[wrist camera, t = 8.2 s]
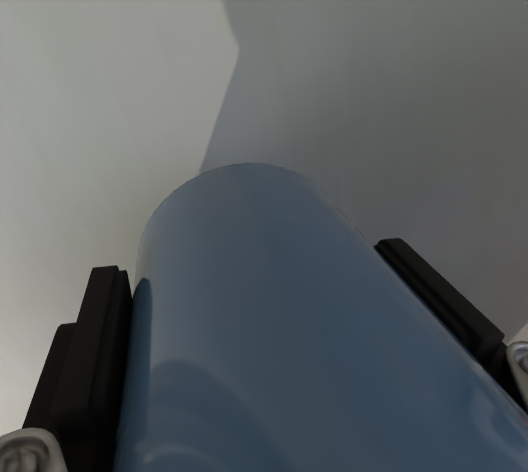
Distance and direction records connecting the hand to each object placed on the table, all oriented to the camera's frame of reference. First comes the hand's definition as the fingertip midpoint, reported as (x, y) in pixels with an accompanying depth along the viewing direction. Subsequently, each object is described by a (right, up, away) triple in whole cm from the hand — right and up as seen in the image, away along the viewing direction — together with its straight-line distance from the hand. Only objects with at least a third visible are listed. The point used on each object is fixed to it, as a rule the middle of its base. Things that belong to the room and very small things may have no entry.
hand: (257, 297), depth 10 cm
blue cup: (0, +1, +2) cm, 2 cm away
